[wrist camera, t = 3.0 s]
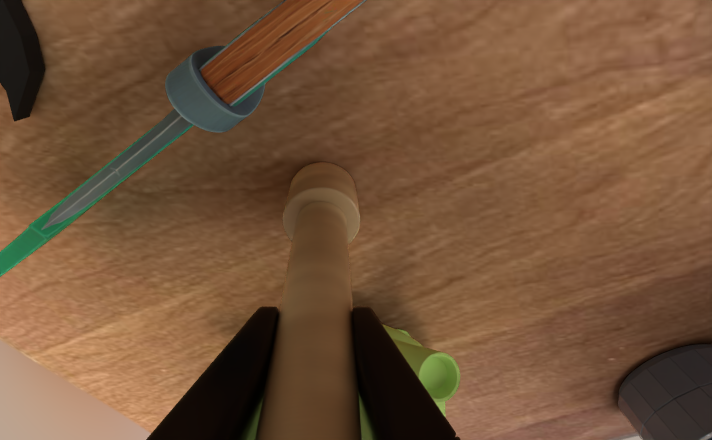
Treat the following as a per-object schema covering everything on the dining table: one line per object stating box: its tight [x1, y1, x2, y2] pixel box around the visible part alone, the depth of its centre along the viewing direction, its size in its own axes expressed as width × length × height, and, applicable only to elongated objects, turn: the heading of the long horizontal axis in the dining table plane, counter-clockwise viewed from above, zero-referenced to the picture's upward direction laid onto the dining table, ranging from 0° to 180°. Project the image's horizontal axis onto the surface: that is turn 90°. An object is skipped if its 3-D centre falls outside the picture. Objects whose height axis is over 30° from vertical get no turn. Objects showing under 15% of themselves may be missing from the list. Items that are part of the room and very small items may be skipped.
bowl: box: [618, 344, 712, 440], centre depth 21 cm, size 8×8×4 cm
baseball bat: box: [255, 162, 362, 440], centre depth 8 cm, size 3×3×13 cm
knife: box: [0, 0, 366, 277], centre depth 10 cm, size 20×2×5 cm, turn 125°
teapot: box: [382, 324, 460, 416], centre depth 16 cm, size 11×12×8 cm
